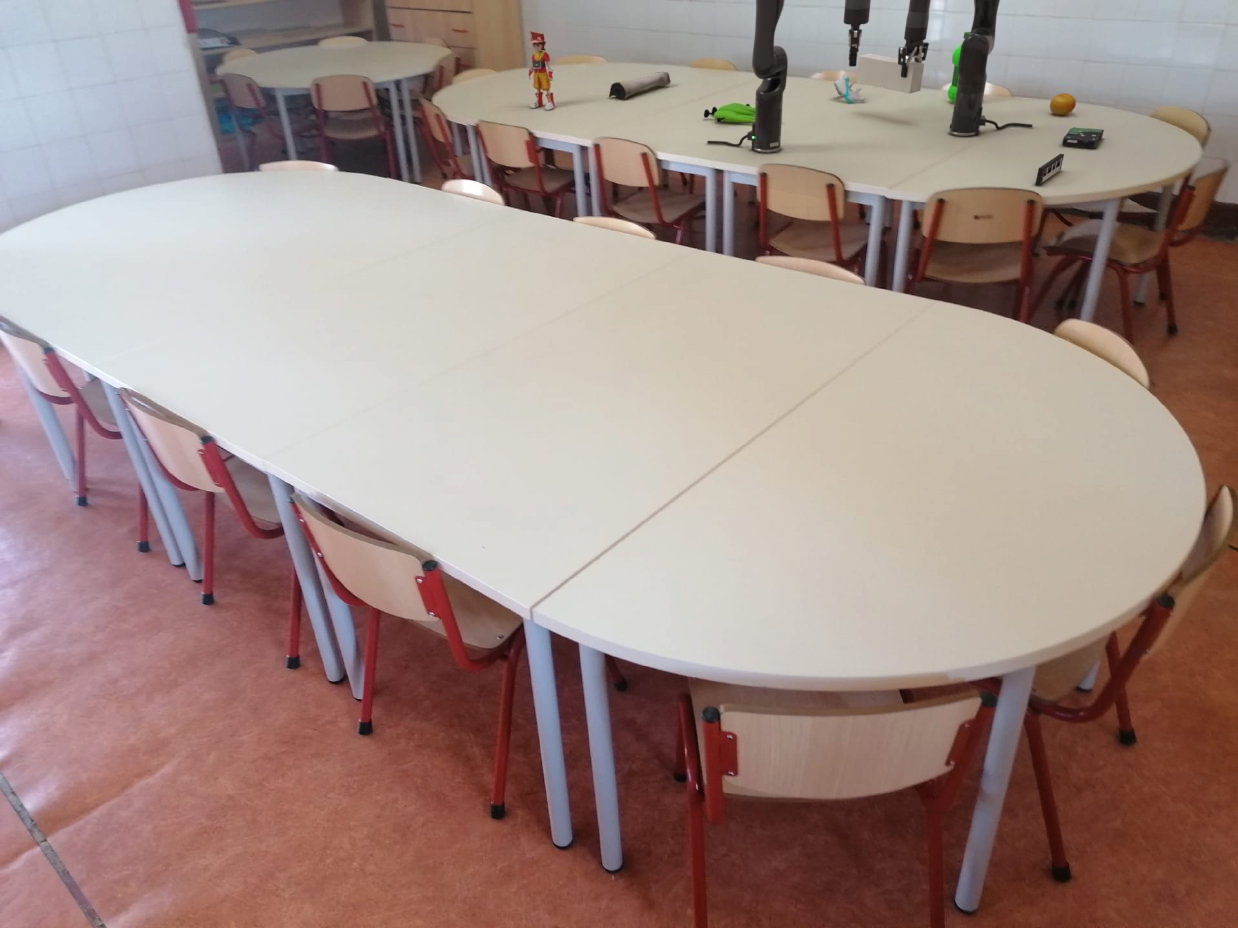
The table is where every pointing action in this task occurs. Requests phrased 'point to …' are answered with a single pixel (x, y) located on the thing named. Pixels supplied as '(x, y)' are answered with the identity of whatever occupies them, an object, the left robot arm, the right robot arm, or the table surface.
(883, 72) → the box
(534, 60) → the toy
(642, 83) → the rolled mat
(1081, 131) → the disk drive
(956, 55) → the green tall lumpy piece
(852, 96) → the anatomical model
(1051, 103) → the fruit
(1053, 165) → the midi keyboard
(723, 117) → the toy
